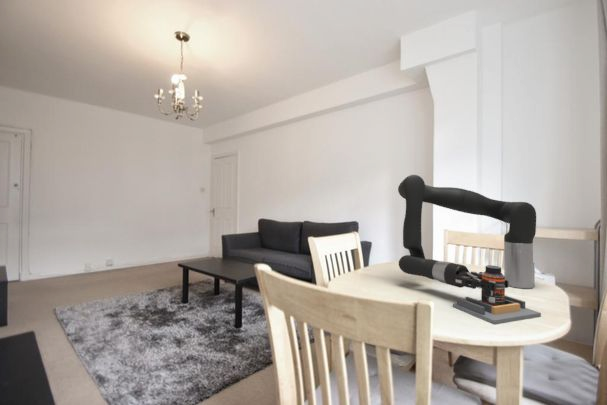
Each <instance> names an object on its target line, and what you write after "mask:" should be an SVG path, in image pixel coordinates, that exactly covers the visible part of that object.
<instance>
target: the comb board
mask: <svg viewBox="0 0 607 405" xmlns="http://www.w3.org/2000/svg"><path fill="white" fill-rule="evenodd" d="M452 307H453V308H455V309H457V310H460V311H462V312H463V313H467V314H469V315H471V316H473V317H476V318H478V319H481V320H483V321H486V322H488V323H490V324H493V325H498V324H503V323H509V322H515V321H520V320H526V319H528V320H529V319H533V318H540V317H542V313H541V312H540V311H536V310H533V309H531V308H527V307H526V301H525V300H521V299H518V298H515V297H512V296H509V295H508V296H507V295H505V302H504V305H499V306H492V305H490V304H487V303H484V302H482V300H481V299H479V300H477V299H476V298H473V297H469V296H465V298H464V299H463V298H461V297H456V303H452Z"/></svg>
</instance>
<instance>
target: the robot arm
mask: <svg viewBox="0 0 607 405" xmlns="http://www.w3.org/2000/svg"><path fill="white" fill-rule="evenodd" d="M397 189H398V190H397V192H398V194H399V196H401V197H402V198H403V199H405V214H404V218H403V219H404V220H403V225H402V226H403V227H402V246H403V247H404V249H406V250H408V252H409V254H408V255H407V254H405V255H403V256H401V257H400V259H399V261H398V267H399V270H401V272H403V273H405V274H407V275H413V276H417V277H418V276H419V277H423V278H427V279H431V280H434V281H437V282H440V283H442V284H446V285H449V286H452V287H457V288H464V287H465V288H469V289H472V290H473V289H475V290H476V288H477V289H479V290H480V289H482V288H484V289H487V290H491V291H495V290H496V284H495V283H492V282H487V281H482V273H484V272H482V271H480V272H476V271H469V269H468V267H467V266H466V265H464V264H459V263H454V262H450V261H445V260H444V261H441V260H437V259H430V258H426V257H425V253H424V249H423V245H422V244H423V243H422V242H423V241H422V238H423V237H422V213H423V203H427V204H431V205H435V206H439V207H442V208H445V209H450V210H453V211H457V212H461V213H466V214H470V215H476V216H477V215H478V216H486V217H489V218H492V219H495V220H498V221H501V222H503V223H506V224H509V229H508V232H507V233H505V234H504V235H503V238H504V239H503V240H504V241H503V242H504V243H503V245H504V247H503V249H504V250H503V251H504V253H503V254H504V256H503V257H504V259H503V260H504V263H503V264H504V266H503V267H504V269H503V270H504V274H503V275H504V277H505V289H508V288H509V287H514V288H518V289H533V288H534V287H535V283H536V282H535V272H536V271H535V262H534V238H535V236H536V232H537V212H536V208H535V207H534V206H533V205H532V204H531V203H530V202H526V201H525V202H524V201H503V200H498V199H497V200H496V199H494V198H489V197H487V196H485V195H483V194H481V193H478V192H476V191H473V190H468V189H465V188H459V187H452V186H451V187H450V186H449V187H447V186H445V187H444V186H443V187H441V186H430V185H427V184H425V181H424V179H423V177H421V176H420V175H417V174H410V175H407V176H406V177H405V178H404V179H403V180H402V181H401V183H400V184H399V185H398V188H397Z"/></svg>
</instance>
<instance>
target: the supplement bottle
mask: <svg viewBox="0 0 607 405" xmlns="http://www.w3.org/2000/svg"><path fill="white" fill-rule="evenodd" d="M484 269H485V271H484V272H483V273H482V281H487V282H492V283H495V284H496V290H495V291H491V290H487V289H484V288H481V291H480V292H481V294H480V295H481V297H480V298H481V299H480V300H482V302H484V303H487V304H490V305H492V306H499V305H504V302H505V296H506V294H505V290H506V288H505V277H504V274H503V273H502V267H501V266H498V265H492V264H490V265H485V268H484Z"/></svg>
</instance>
